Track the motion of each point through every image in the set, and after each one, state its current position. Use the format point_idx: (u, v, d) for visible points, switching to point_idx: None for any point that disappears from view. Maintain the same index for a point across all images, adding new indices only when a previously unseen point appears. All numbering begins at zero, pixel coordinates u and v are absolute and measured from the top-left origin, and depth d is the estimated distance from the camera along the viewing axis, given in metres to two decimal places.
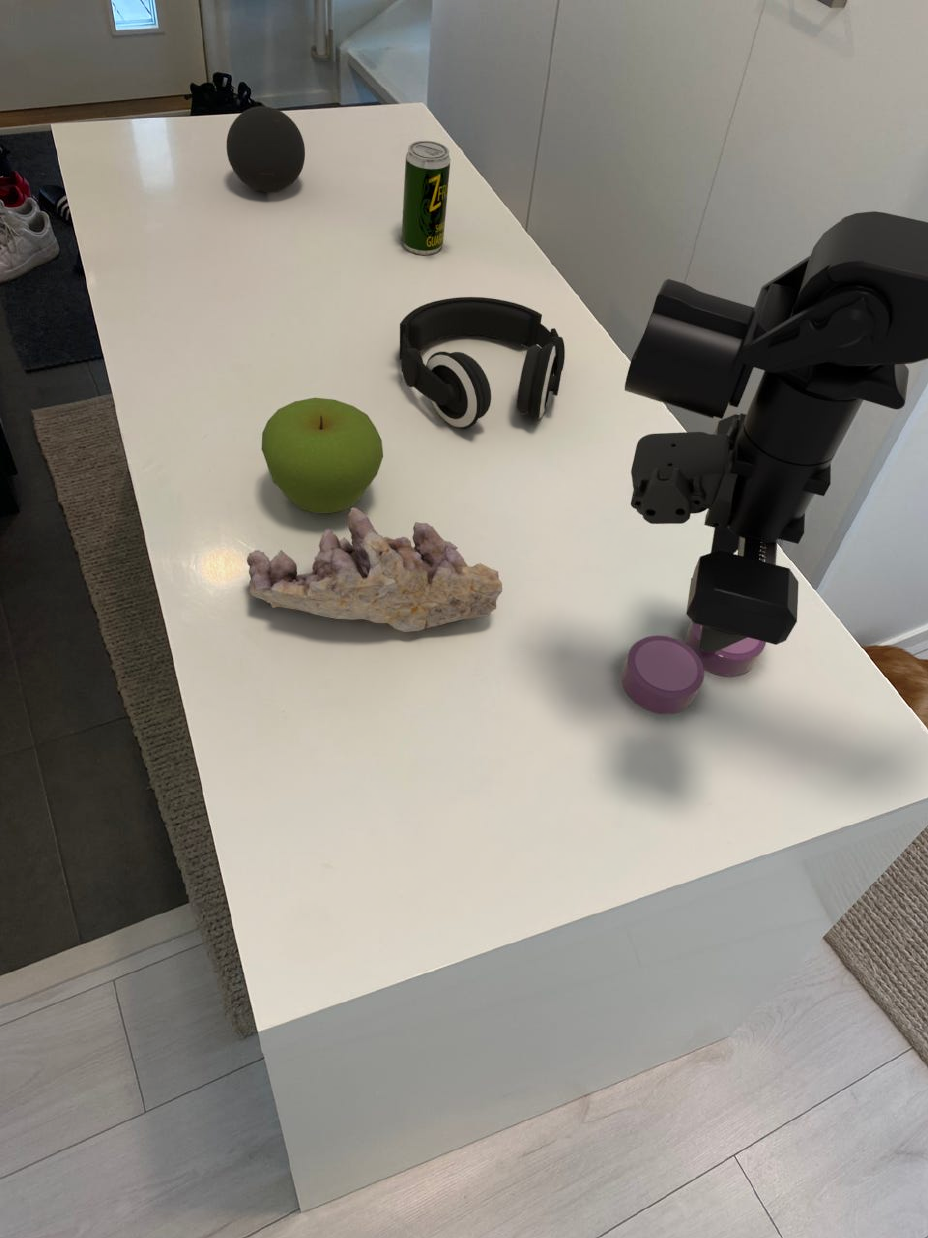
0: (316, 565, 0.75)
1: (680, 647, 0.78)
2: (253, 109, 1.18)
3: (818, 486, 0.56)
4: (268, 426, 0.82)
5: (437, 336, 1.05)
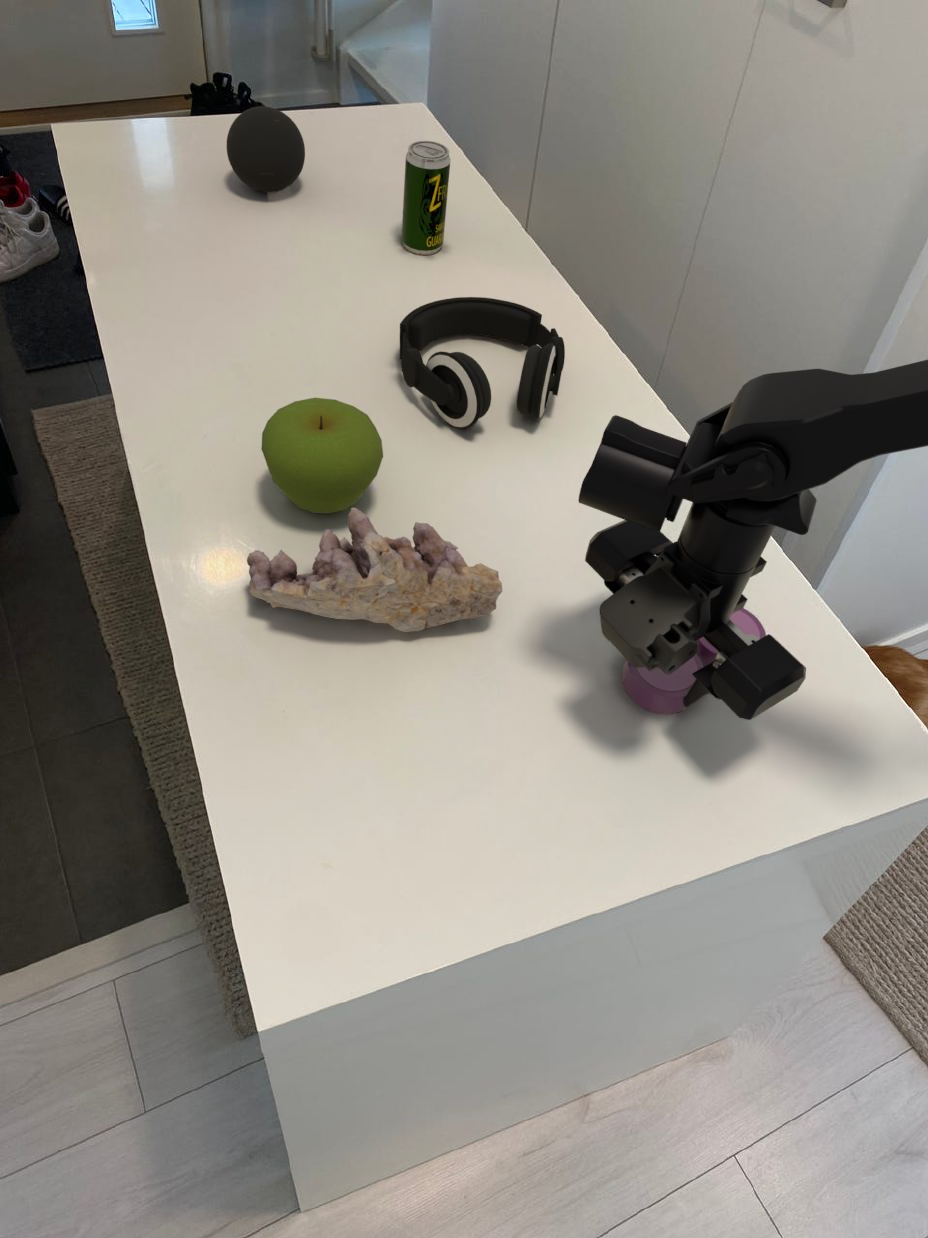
0: (316, 565, 0.75)
1: None
2: (253, 109, 1.18)
3: (759, 568, 0.67)
4: (268, 426, 0.82)
5: (437, 336, 1.05)
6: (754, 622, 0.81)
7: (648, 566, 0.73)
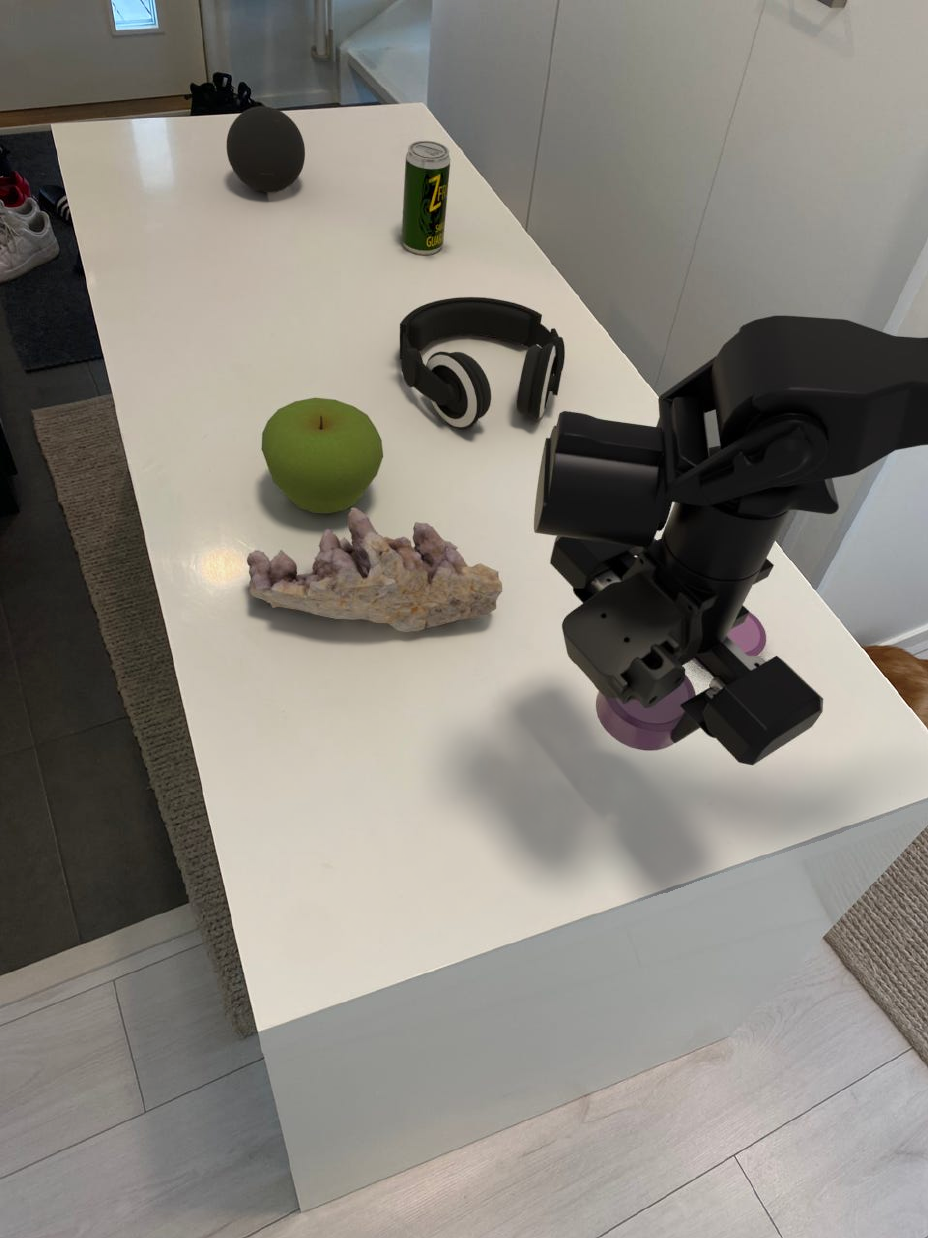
0: (316, 565, 0.75)
1: None
2: (253, 109, 1.18)
3: (764, 573, 0.53)
4: (268, 426, 0.82)
5: (437, 336, 1.05)
6: (754, 622, 0.81)
7: (627, 570, 0.59)
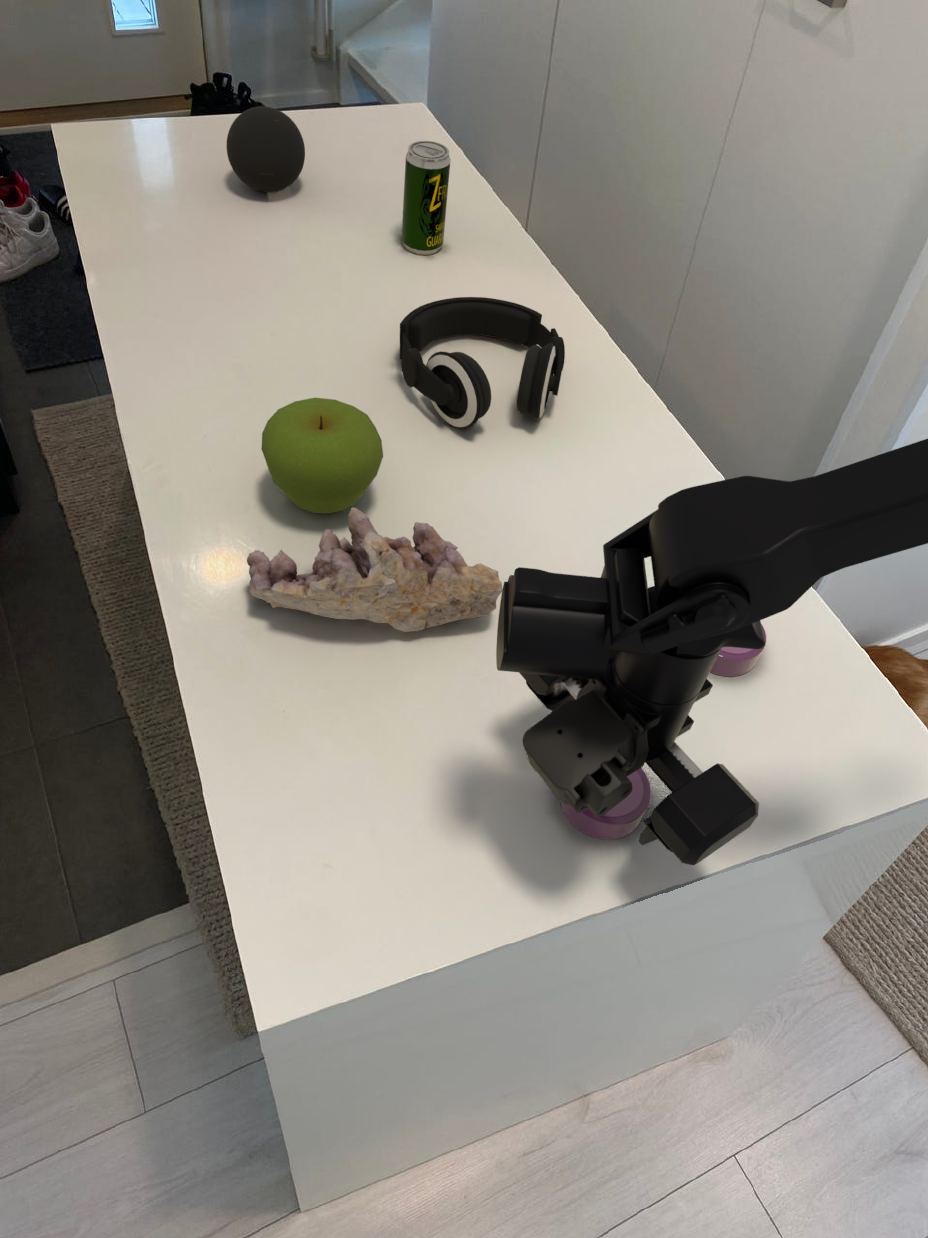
0: (316, 565, 0.75)
1: None
2: (253, 109, 1.18)
3: (704, 692, 0.59)
4: (268, 426, 0.82)
5: (437, 336, 1.05)
6: None
7: (584, 679, 0.65)
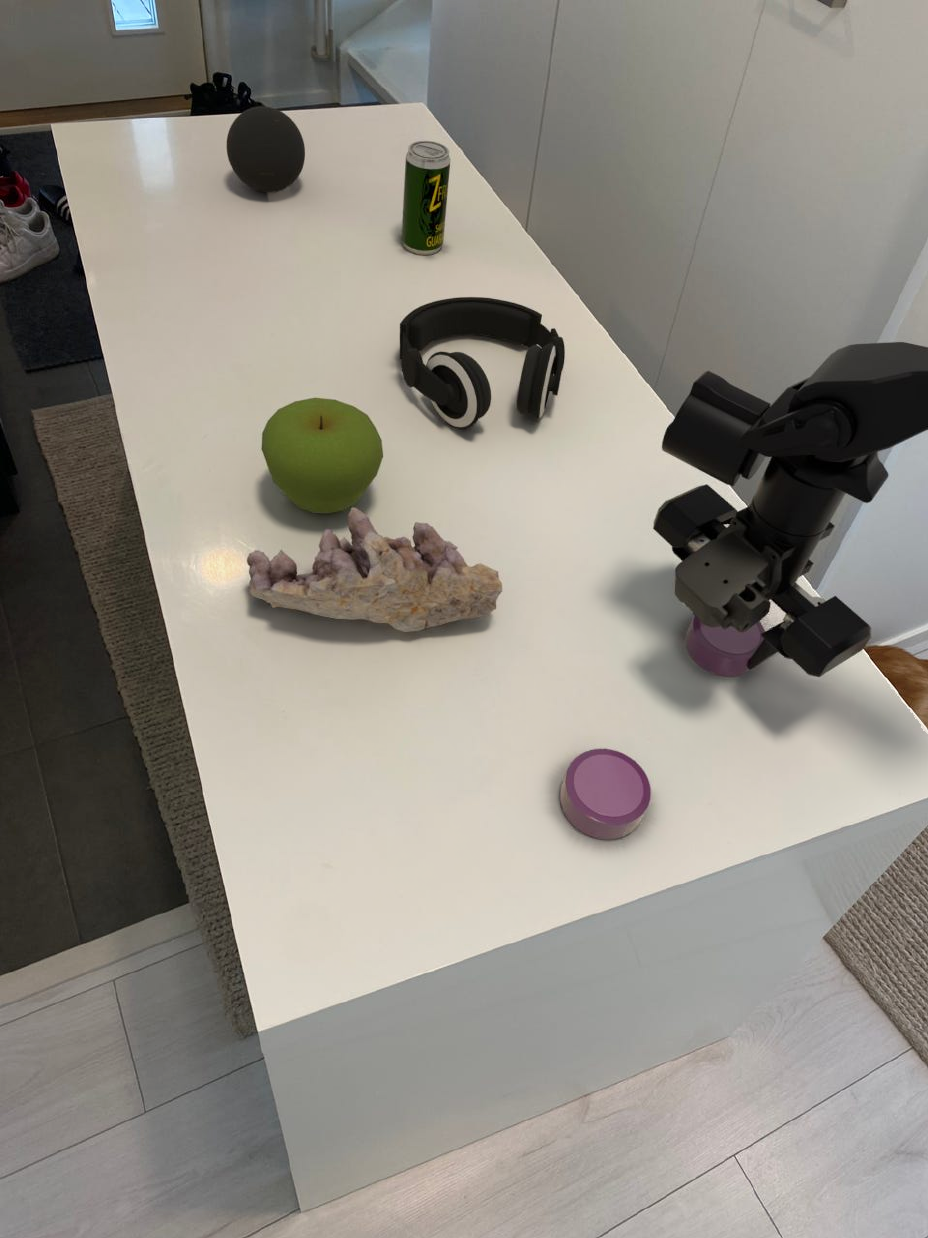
0: (316, 565, 0.75)
1: (625, 763, 0.70)
2: (253, 109, 1.18)
3: (827, 532, 0.70)
4: (268, 426, 0.82)
5: (437, 336, 1.05)
6: None
7: (716, 533, 0.76)
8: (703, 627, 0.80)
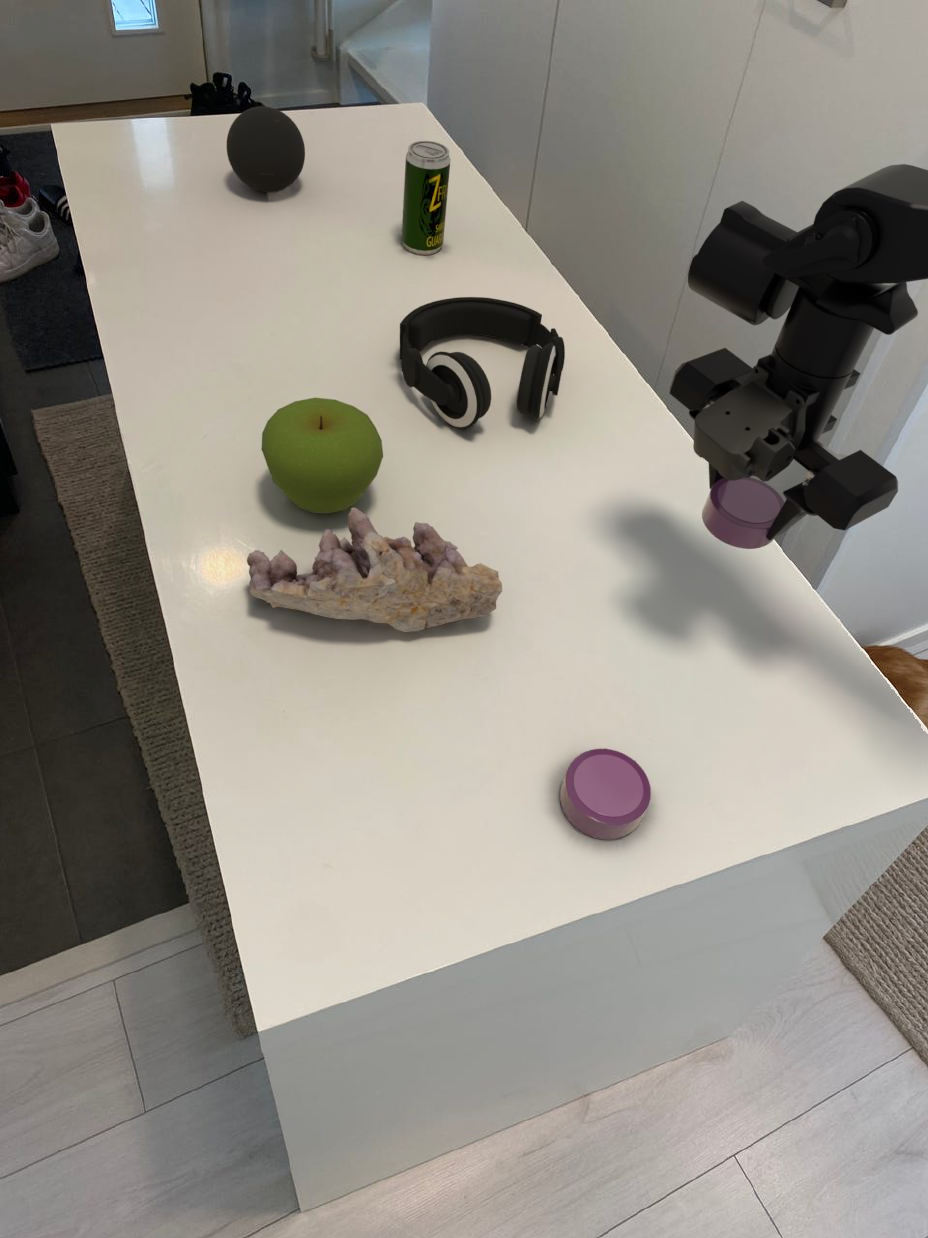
0: (316, 565, 0.75)
1: (625, 763, 0.70)
2: (253, 109, 1.18)
3: (853, 380, 0.67)
4: (268, 426, 0.82)
5: (437, 336, 1.05)
6: (773, 494, 0.78)
7: None
8: (721, 498, 0.77)
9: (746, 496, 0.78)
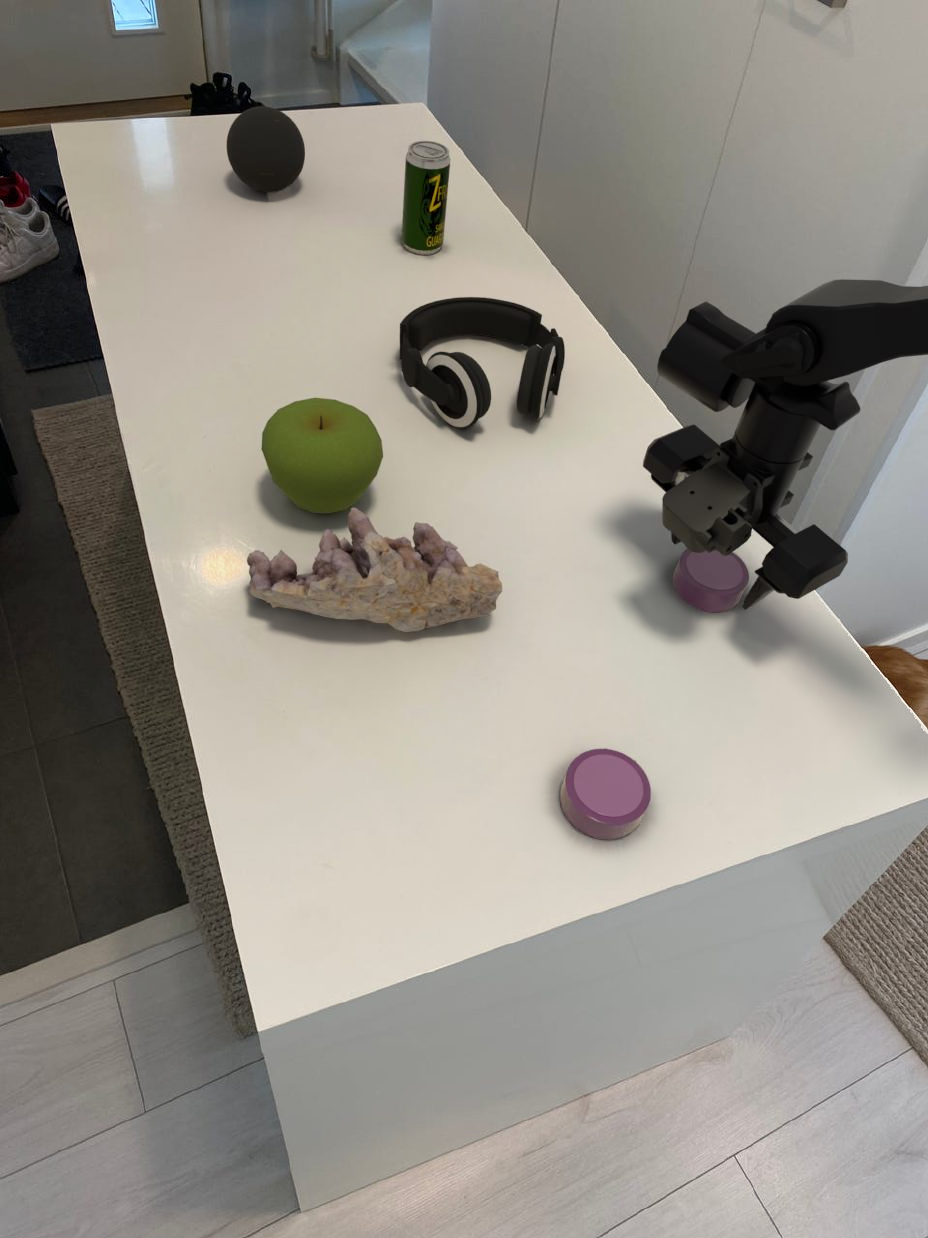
0: (316, 565, 0.75)
1: (625, 763, 0.70)
2: (253, 109, 1.18)
3: (806, 462, 0.74)
4: (268, 426, 0.82)
5: (437, 336, 1.05)
6: (737, 562, 0.85)
7: (702, 468, 0.80)
8: (689, 566, 0.85)
9: (712, 564, 0.85)
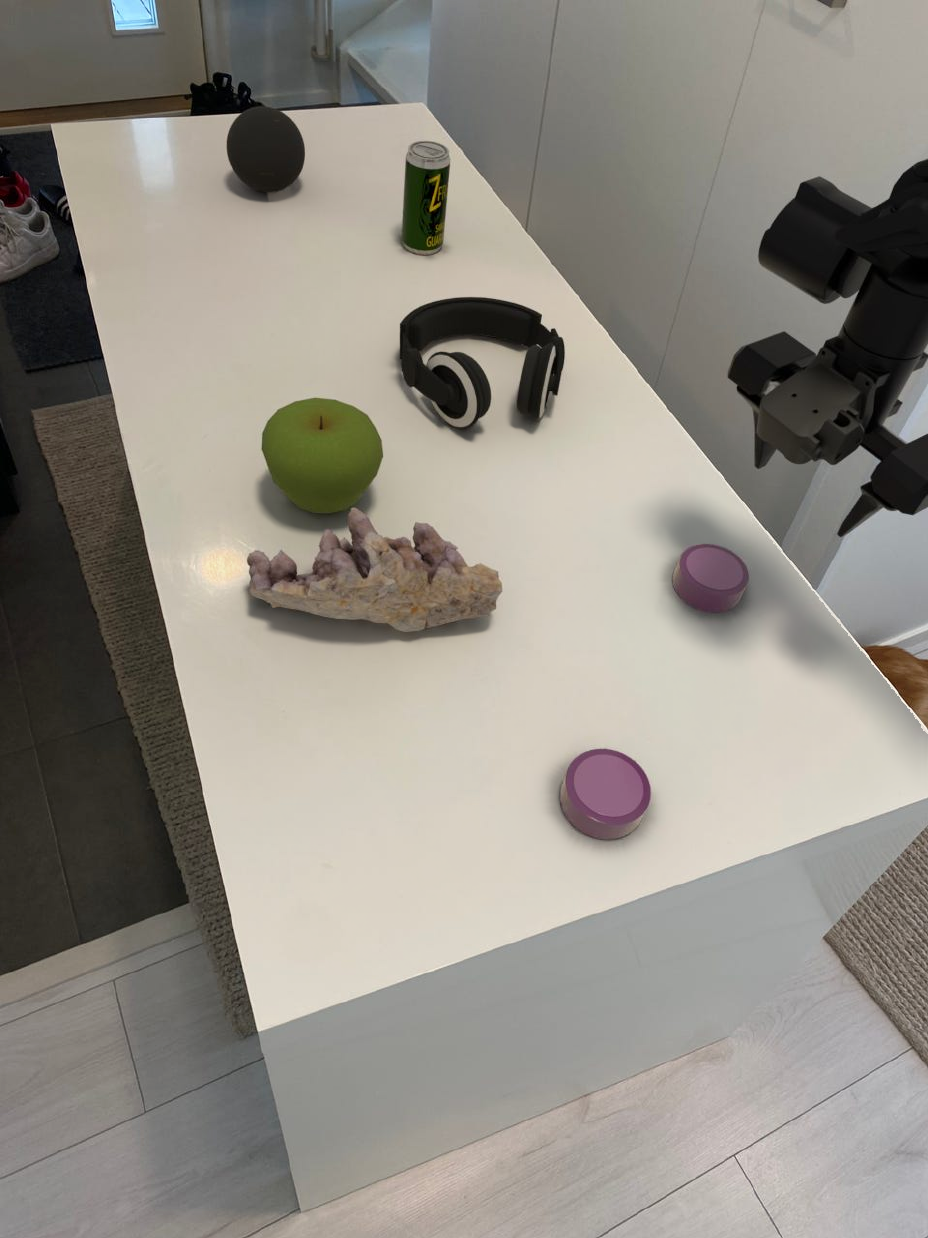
0: (316, 565, 0.75)
1: (625, 763, 0.70)
2: (253, 109, 1.18)
3: (922, 362, 0.66)
4: (268, 426, 0.82)
5: (437, 336, 1.05)
6: (737, 562, 0.85)
7: None
8: (689, 566, 0.85)
9: (712, 564, 0.85)
